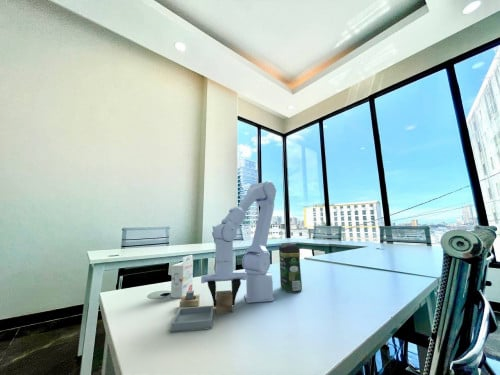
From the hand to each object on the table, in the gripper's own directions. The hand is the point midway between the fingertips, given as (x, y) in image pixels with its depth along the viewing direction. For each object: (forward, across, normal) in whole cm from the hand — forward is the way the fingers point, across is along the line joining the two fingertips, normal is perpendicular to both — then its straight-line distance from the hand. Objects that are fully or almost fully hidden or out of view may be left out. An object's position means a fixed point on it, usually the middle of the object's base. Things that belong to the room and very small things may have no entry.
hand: (223, 305), depth 66 cm
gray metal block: (+1, +11, -4) cm, 12 cm away
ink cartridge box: (+2, +15, -20) cm, 25 cm away
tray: (+1, +9, +6) cm, 11 cm away
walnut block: (+1, 0, 0) cm, 1 cm away
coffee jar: (+2, -29, -14) cm, 32 cm away
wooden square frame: (+1, +11, -5) cm, 12 cm away
